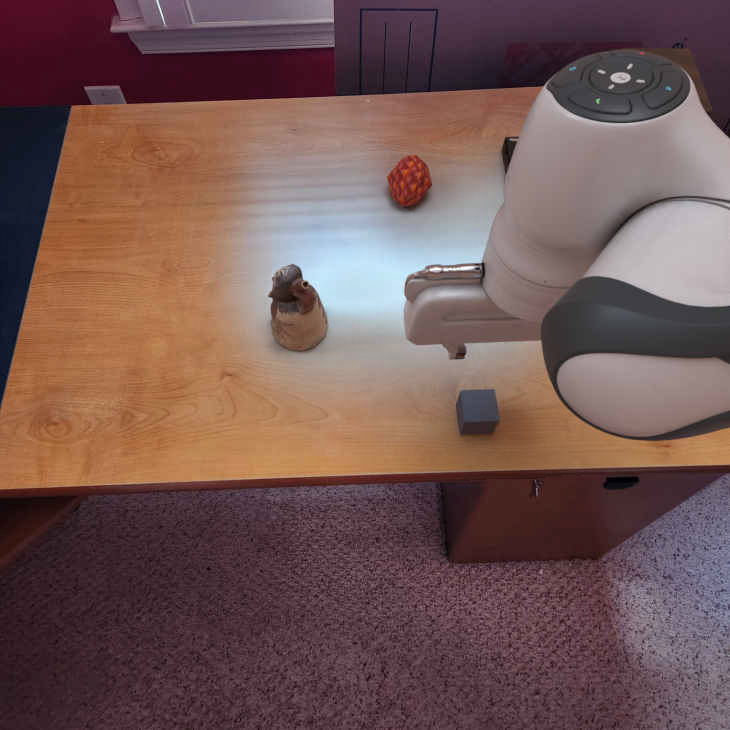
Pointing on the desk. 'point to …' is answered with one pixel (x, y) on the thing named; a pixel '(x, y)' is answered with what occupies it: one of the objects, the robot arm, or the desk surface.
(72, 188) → the desk surface
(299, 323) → the figurine
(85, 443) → the desk surface
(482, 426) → the block
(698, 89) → the cabinet
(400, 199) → the decorative stone
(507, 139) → the black stapler
